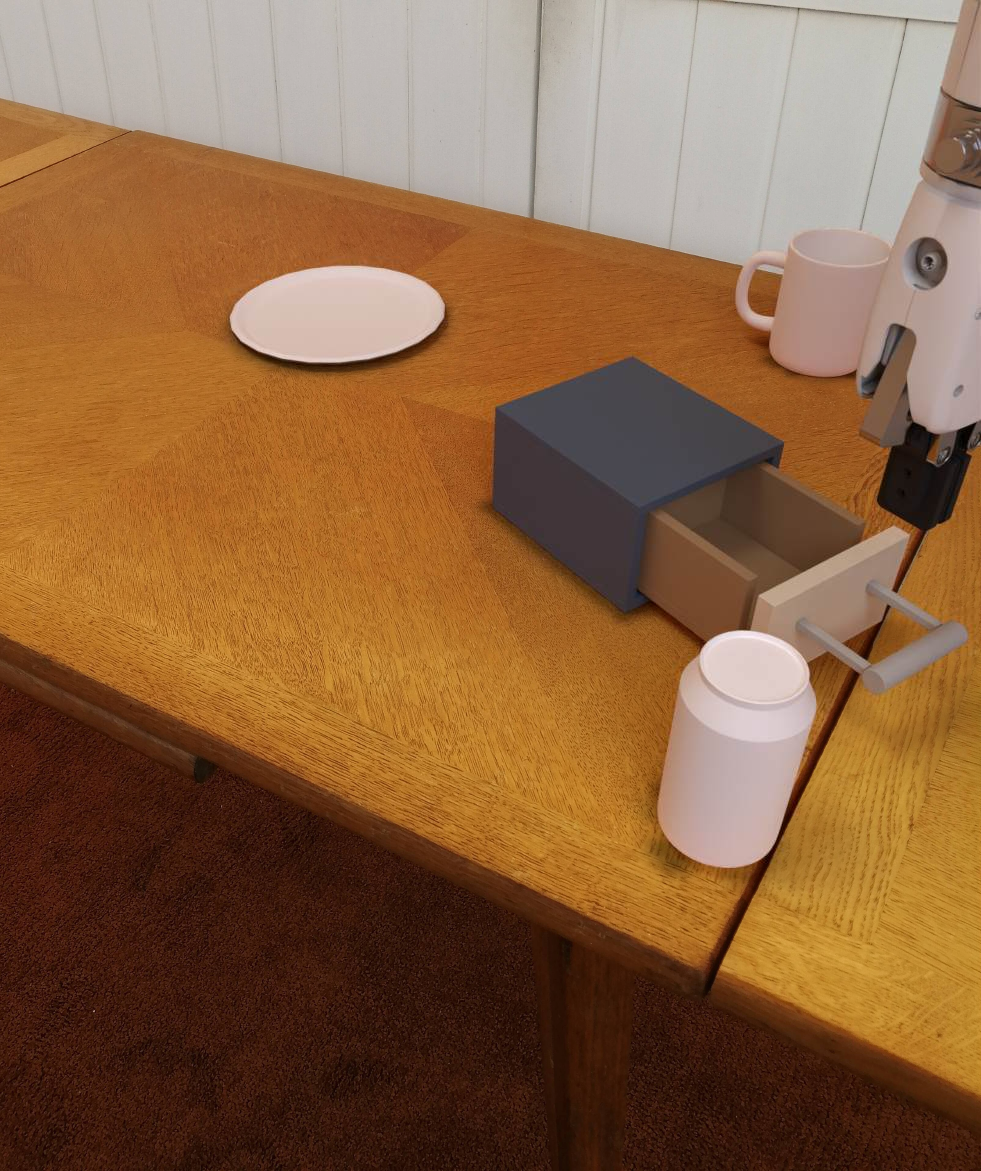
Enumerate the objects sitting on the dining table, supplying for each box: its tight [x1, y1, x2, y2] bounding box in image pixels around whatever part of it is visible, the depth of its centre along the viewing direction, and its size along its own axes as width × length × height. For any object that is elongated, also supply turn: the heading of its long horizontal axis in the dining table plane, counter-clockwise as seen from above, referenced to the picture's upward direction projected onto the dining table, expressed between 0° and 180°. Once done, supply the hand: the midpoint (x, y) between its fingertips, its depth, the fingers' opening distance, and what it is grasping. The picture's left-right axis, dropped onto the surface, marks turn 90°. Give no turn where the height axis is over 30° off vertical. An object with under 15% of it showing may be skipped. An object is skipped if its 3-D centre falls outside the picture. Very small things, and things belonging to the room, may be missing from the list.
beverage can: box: [656, 630, 818, 869], centre depth 54 cm, size 6×6×12 cm
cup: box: [734, 226, 893, 378], centre depth 94 cm, size 8×12×10 cm
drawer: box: [637, 461, 969, 696], centre depth 66 cm, size 20×11×7 cm, turn 32°
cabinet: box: [492, 356, 785, 614], centre depth 75 cm, size 15×13×9 cm
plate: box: [229, 265, 446, 366], centre depth 105 cm, size 21×21×1 cm
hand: (911, 512), depth 55 cm, fingers closed
